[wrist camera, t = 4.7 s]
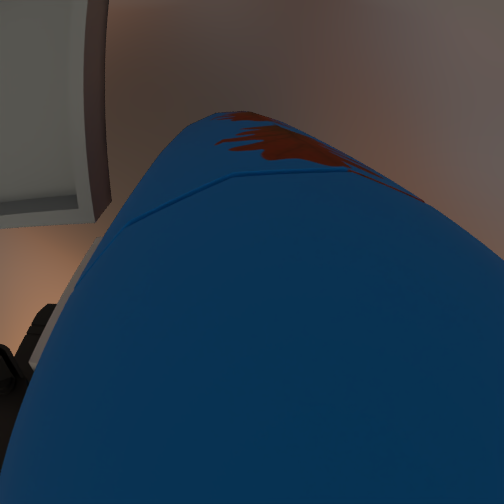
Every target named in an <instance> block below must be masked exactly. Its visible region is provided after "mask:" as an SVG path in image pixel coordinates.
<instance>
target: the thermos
mask: <svg viewBox="0 0 504 504" xmlns="http://www.w3.org/2000/svg"><path fill="white" fill-rule="evenodd" d="M0 504H504V260H502V259H501V258H500V257H499V256H498V255H496V254H495V253H494V252H493V251H491V250H490V249H489V248H487V247H486V246H485V245H484V244H483V243H481V242H480V241H479V240H477V239H476V238H475V237H473V236H472V235H470V234H469V233H468V232H467V231H466V230H464V229H463V228H461V227H460V226H459V225H457V224H456V223H455V222H453V221H452V220H450V219H449V218H448V217H446V216H445V215H443V214H442V213H441V212H439V211H438V210H436V209H435V208H433V207H432V206H430V205H428V204H426V203H425V202H424V201H423V200H421V199H420V198H418V197H417V196H415V195H414V194H412V193H411V192H409V191H407V190H406V189H404V188H403V187H401V186H400V185H398V184H396V183H394V182H393V181H391V180H390V179H388V178H387V177H385V176H383V175H382V174H380V173H378V172H376V171H375V170H373V169H371V168H370V167H368V166H366V165H364V164H363V163H361V162H359V161H357V160H355V159H354V158H352V157H350V156H348V155H347V154H345V153H343V152H341V151H339V150H337V149H335V148H334V147H331V146H330V145H328V144H326V143H324V142H322V141H320V140H318V139H316V138H314V137H312V136H310V135H308V134H306V133H304V132H302V131H300V130H298V129H296V128H294V127H291V126H289V125H288V124H285V123H283V122H280V121H278V120H275V119H272V118H269V117H265V116H262V115H259V114H256V113H253V112H246V111H238V112H222V113H215V114H212V115H210V116H208V117H206V118H203V119H201V120H199V121H197V122H195V123H192V124H190V125H189V126H187V127H186V128H185V129H183V130H182V132H180V133H179V134H178V135H177V136H176V137H175V138H174V139H173V141H171V143H169V144H168V146H167V147H166V148H165V149H164V150H163V151H162V152H161V153H160V154H159V156H158V157H157V159H156V160H155V161H154V163H153V164H152V165H151V167H150V168H149V169H148V171H147V172H146V173H145V175H144V176H143V178H142V179H141V181H140V182H139V183H138V185H137V186H136V188H135V189H134V191H133V192H132V194H131V195H130V196H129V198H128V199H127V201H126V202H125V204H124V205H123V207H122V208H121V210H120V211H119V213H118V215H117V216H116V218H115V219H114V221H113V222H112V224H111V225H110V227H109V229H108V230H107V232H106V233H105V235H104V237H103V238H102V240H101V241H100V243H99V245H98V246H97V248H96V250H95V251H94V253H93V255H92V257H91V258H90V260H89V262H88V263H87V265H86V267H85V269H84V271H83V272H82V274H81V276H80V278H79V279H78V281H77V283H76V285H75V287H74V291H73V292H72V293H71V295H70V296H69V298H68V300H67V302H66V304H65V306H64V308H63V310H62V312H61V314H60V316H59V318H58V320H57V322H56V324H55V326H54V328H53V330H52V332H51V335H50V337H49V339H48V341H47V343H46V345H45V348H44V350H43V352H42V354H41V357H40V359H39V361H38V364H37V366H36V368H35V371H34V373H33V376H32V378H31V381H30V383H29V386H28V388H27V391H26V394H25V396H24V399H23V402H22V404H21V407H20V410H19V413H18V416H17V419H16V422H15V425H14V428H13V431H12V434H11V437H10V441H9V444H8V447H7V451H6V454H5V458H4V462H3V465H2V469H1V473H0Z"/></svg>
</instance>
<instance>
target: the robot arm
mask: <svg viewBox="0 0 504 504" xmlns="http://www.w3.org/2000/svg"><path fill="white" fill-rule="evenodd" d="M102 238H103V237H97V238H96V239H95V241H94V242H93V244H92V245H91V247H90V249H89V250H88V252H87V253H86V255H85V257H84V259H83V260H82V262H81V263H80V265H79V267H78V268H77V270H76V272H75V273H74V275H73V277H72V279H71V280H70V282H69V284H68V285H67V287H66V289H65V291H64V293H63V294H62V296H61V298H60V300H59V302H58V303H57V304H47V305H46V306H45V307H43V308H42V309H41V310H40V311H39V312H38V313H37V315H36V316H35V318H34V320H33V322H32V326H30V327H29V329H28V331H27V335H25V337H24V339H23V341H22V343H21V345H20V346H19V349H18V351H17V352H16V354H15V356H13V354H12V353H11V351H10V349H9V348H8V347H7V346H5V345H2V344H0V473H1V469H2V465H3V462H4V458H5V454H6V451H7V447H8V444H9V441H10V437H11V434H12V431H13V428H14V425H15V422H16V419H17V416H18V413H19V410H20V407H21V404H22V402H23V399H24V396H25V394H26V391H27V388H28V386H29V383H30V381H31V378H32V376H33V373H34V371H35V368H36V366H37V364H38V361H39V359H40V357H41V354H42V352H43V350H44V348H45V345H46V343H47V341H48V339H49V337H50V335H51V332H52V330H53V328H54V326H55V324H56V322H57V320H58V318H59V316H60V314H61V312H62V310H63V308H64V306H65V304H66V302H67V300H68V298H69V296H70V295H71V293H72V292H73V291H74V287H75V285H76V283H77V281H78V279H79V278H80V276H81V274H82V272H83V271H84V269H85V267H86V265H87V263H88V262H89V260H90V258H91V257H92V255H93V253H94V251H95V250H96V248H97V246H98V245H99V243H100V241H101V240H102Z"/></svg>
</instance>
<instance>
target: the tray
mask: <svg viewBox="0 0 504 504" xmlns="http://www.w3.org/2000/svg"><path fill="white" fill-rule="evenodd" d="M108 4H109V0H0V229H5V228H18V227H32V226H48V225H63V224H83V223H95V222H96V221H97V220H98V218H99V217H100V215H101V214H102V213H103V212H104V210H105V209H106V208H107V206H108V205H109V204H110V203H111V201H112V199H111V190H110V181H109V170H108V158H107V146H106V145H107V143H106V124H105V46H106V28H107V16H108Z"/></svg>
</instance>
